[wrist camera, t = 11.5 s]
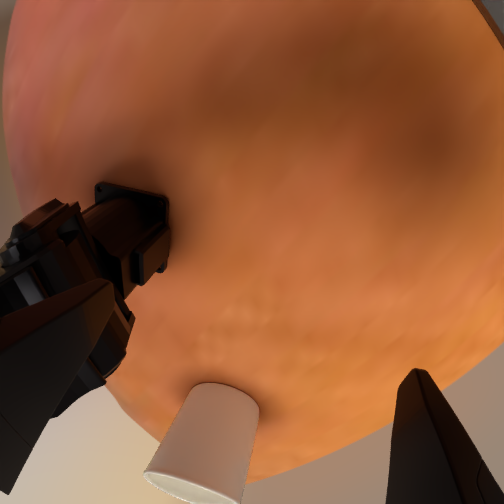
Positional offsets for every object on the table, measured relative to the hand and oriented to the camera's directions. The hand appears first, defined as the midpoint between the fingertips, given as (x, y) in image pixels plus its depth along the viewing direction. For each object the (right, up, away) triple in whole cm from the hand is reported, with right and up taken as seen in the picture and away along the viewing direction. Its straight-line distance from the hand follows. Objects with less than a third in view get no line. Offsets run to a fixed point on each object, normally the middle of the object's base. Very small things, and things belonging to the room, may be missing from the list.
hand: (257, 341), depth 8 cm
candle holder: (-3, -15, +25) cm, 29 cm away
